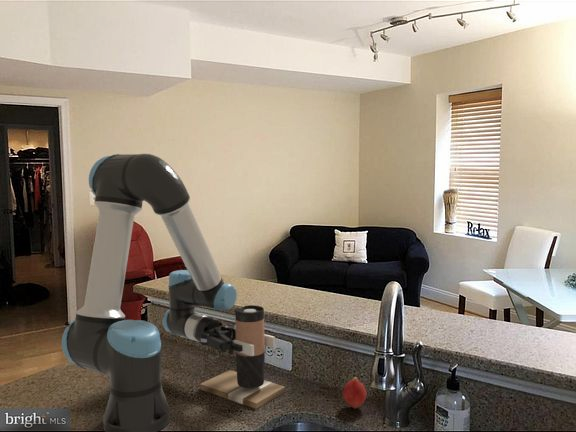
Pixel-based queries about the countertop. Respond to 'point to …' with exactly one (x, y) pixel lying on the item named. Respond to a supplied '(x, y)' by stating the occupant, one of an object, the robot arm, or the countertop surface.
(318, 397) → the countertop surface
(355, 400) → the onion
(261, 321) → the travel mug
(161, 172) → the robot arm
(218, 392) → the wooden cutting board
